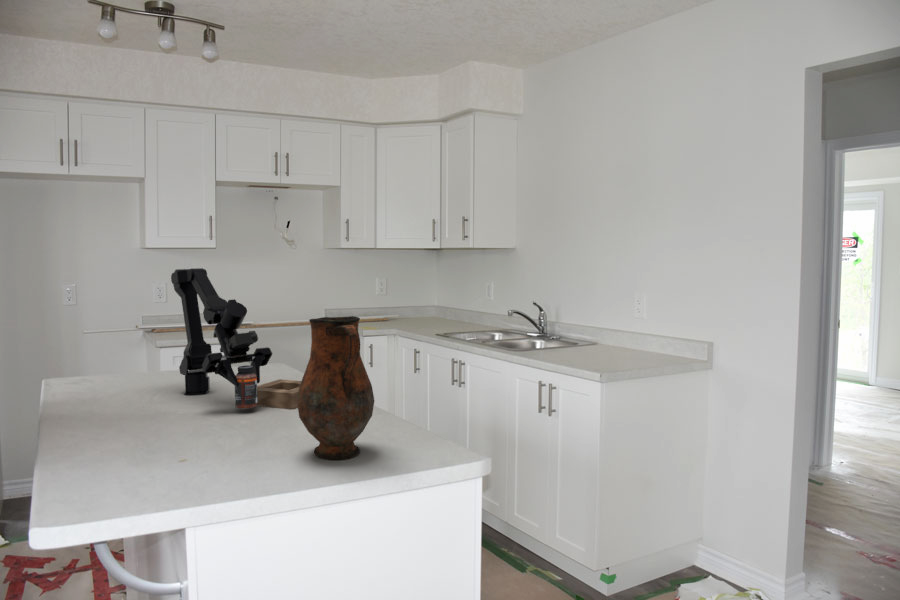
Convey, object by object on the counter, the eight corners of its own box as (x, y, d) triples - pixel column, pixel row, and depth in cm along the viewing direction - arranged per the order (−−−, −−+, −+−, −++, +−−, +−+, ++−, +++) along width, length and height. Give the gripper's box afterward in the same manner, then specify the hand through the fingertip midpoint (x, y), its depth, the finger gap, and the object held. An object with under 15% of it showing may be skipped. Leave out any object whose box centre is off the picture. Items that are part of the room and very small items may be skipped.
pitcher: (358, 438, 159) (356, 312, 157) (394, 463, 141) (393, 320, 139) (288, 448, 152) (285, 315, 149) (317, 475, 133) (314, 324, 131)
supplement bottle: (262, 405, 188) (261, 365, 187) (247, 410, 183) (246, 369, 182) (245, 403, 191) (244, 363, 190) (230, 407, 185) (229, 367, 184)
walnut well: (246, 404, 195) (245, 389, 194) (279, 393, 210) (279, 379, 209) (292, 409, 189) (292, 393, 189) (323, 397, 204) (323, 382, 203)
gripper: (205, 324, 181) (224, 370, 174) (268, 319, 194) (288, 362, 187) (194, 349, 188) (212, 395, 180) (256, 343, 200) (275, 385, 193)
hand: (248, 384), depth 185 cm, fingers closed on supplement bottle, 6 cm apart
